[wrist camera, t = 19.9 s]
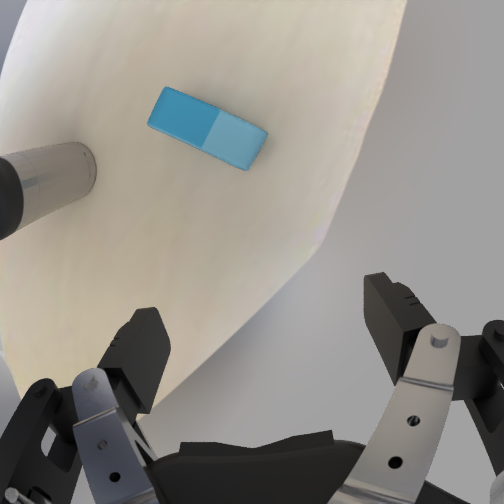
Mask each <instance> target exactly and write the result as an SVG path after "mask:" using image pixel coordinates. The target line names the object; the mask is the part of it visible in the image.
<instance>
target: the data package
mask: <svg viewBox="0 0 504 504" xmlns="http://www.w3.org/2000/svg"><path fill="white" fill-rule="evenodd" d="M147 125H148V126H149V127H151V128H153V129H155V130H157V131H160V132H162V133H164V134H167V135H169V136H171V137H173V138H175V139H178V140H180V141H182V142H184V143H186V144H189V145H191V146H193V147H195V148H197V149H199V150H201V151H204V152H206V153H208V154H210V155H212V156H214V157H216V158H218V159H220V160H222V161H224V162H226V163H228V164H230V165H232V166H234V167H237V168H239V169H242V170H245V171H247V170H249V169H250V167H251V165H252V163H253V161H254V159H255V158H256V156H257V154H258V152H259V150H260V148H261V147H262V145H263V143H264V141H265V139H266V137H267V136H268V133H267V132H266V131H264V130H262V129H260V128H258V127H256V126H254V125H252V124H250V123H248V122H246V121H244V120H242V119H240V118H238V117H236V116H234V115H232V114H230V113H227V112H225V111H223V110H221V109H219V108H217V107H214V106H212V105H210V104H208V103H205V102H203V101H201V100H199V99H196V98H194V97H192V96H189V95H187V94H184V93H182V92H179V91H177V90H175V89H172V88H169V87H164V88H163V90H162V92H161V94H160V96H159V98H158V100H157V102H156V104H155V107H154V109H153V111H152V113H151V115H150V117H149V119H148V122H147Z"/></svg>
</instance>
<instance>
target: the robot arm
mask: <svg viewBox="0 0 504 504" xmlns="http://www.w3.org/2000/svg"><path fill="white" fill-rule="evenodd" d="M95 177H96V165H95V161H94V158H93V156H92V154H91V152H90V151H89V150H88V148H87V147H85V146H84V145H82V144H80V143H75V142H72V143H65V144H58V145H52V146H46V147H41V148H35V149H30V150H25V151H20V152H16V153H12V154H8V155H3V156H0V240H2V239H4V238H6V237H8V236H9V235H11V234H13V233H14V232H16V231H18V230H19V229H21V228H23V227H25V226H26V225H28V224H30V223H32V222H34V221H35V220H37V219H39V218H41V217H43V216H45V215H47V214H49V213H51V212H53V211H55V210H57V209H59V208H61V207H63V206H65V205H67V204H69V203H71V202H73V201H75V200H77V199H80V198H82V197H83V196H85V195H86V194H87V193H88V192H89V191H90V190H91V188H92V187H93V184H94V181H95ZM364 318H365V323H366V326H367V328H368V330H369V332H370V334H371V336H372V338H373V340H374V342H375V345H376V347H377V349H378V351H379V353H380V355H381V357H382V359H383V361H384V364H385V366H386V368H387V370H388V373H389V375H390V377H391V379H392V382H393V384H394V386H396V387H395V389H394V391H393V393H392V396H391V398H390V400H389V402H388V404H387V406H386V409H385V411H384V413H383V415H382V417H381V419H380V421H379V423H378V425H377V427H376V429H375V431H374V432H373V435H372V436H371V438H370V440H369V442H368V444H367V445H363V444H360V443H356V442H352V441H345V440H334V439H333V434H332V430H328V431H323V432H317V433H311V434H304V435H298V436H292V437H289V438H286V439H284V440H280V441H277V442H274V443H271V444H268V445H264V446H261V447H257V448H247V447H240V446H234V445H228V444H223V443H217V442H181V444H180V449H179V452H177V453H173V454H169V455H167V456H164V457H161V458H159V459H158V457H157V456H156V454H155V452H154V451H153V449H152V447H151V445H150V444H149V442H148V440H147V438H146V436H145V434H144V432H143V430H142V428H141V426H140V424H139V423H138V421H137V420H136V416H137V413H140V414H149V413H150V411H151V408H152V405H153V402H154V399H155V396H156V393H157V390H158V387H159V384H160V381H161V378H162V375H163V372H164V369H165V366H166V363H167V360H168V357H169V355H170V351H171V345H170V339H169V337H168V334H167V332H166V329H165V327H164V324H163V322H162V319H161V317H160V314H159V312H158V310H157V308H155V307H150V308H141V309H137V310H136V311H135V313H134V314H133V316H132V318H131V319H130V321H129V322H127V323H126V324H125V325H123V326H122V327H121V328H120V329H119V330H118V332H117V333H116V335H115V337H114V340H112V342H111V343H110V347H108V349H107V350H106V352H105V354H104V355H103V357H102V359H101V361H100V362H99V364H98V366H97V368H91V369H88V370H85V371H83V372H82V373H80V374H79V375H78V376H77V377H76V378H75V379H74V381H73V383H72V386H68V387H64V388H59V389H58V387H57V386H56V384H55V383H54V382H53V380H51V379H49V378H44V379H41V380H38V381H37V382H35V383H34V384H32V385H31V386H30V388H29V389H28V391H27V392H26V394H25V396H24V397H23V399H22V401H21V402H20V404H19V406H18V407H17V409H16V411H15V413H14V415H13V416H12V418H11V420H10V422H9V423H8V425H7V427H6V429H5V431H4V433H3V434H2V436H1V438H0V504H70V503H71V500H72V496H73V493H74V490H75V487H76V483H77V480H78V477H79V474H80V470H81V468H82V465H83V468H84V471H85V475H86V478H87V481H88V484H89V487H90V490H91V492H92V495H93V498H94V501H95V503H96V504H470V503H468V502H466V501H464V500H461V499H460V498H458V497H456V496H454V495H452V494H450V493H448V492H446V491H444V490H443V489H441V488H439V487H437V486H435V485H433V484H431V483H430V482H428V481H426V480H425V478H426V476H427V474H428V471H429V469H430V466H431V463H432V461H433V458H434V455H435V453H436V450H437V447H438V443H439V441H440V438H441V435H442V431H443V428H444V425H445V422H446V418H447V414H448V411H449V407H450V403H451V401H455V400H464V402H465V404H466V406H467V408H468V410H469V412H470V414H471V416H472V419H473V421H474V423H475V425H476V427H477V429H478V432H479V434H480V436H481V439H482V441H483V444H484V446H485V448H486V451H487V453H488V456H489V458H490V461H491V463H492V466H493V469H494V472H495V474H496V479H495V480H494V481H493V483H492V486H491V489H490V504H504V389H503V388H502V386H501V383H502V385H503V387H504V321H503V320H493V321H490V322H488V323H487V324H486V325H485V326H484V328H483V331H482V335H475V336H460V334H459V333H458V331H457V330H456V329H454V328H453V327H451V326H449V325H446V324H440V323H439V324H438V323H437V322H436V321H435V320H434V319H433V317H432V316H431V315H430V313H429V312H428V311H427V310H426V308H425V307H424V306H423V305H422V304H421V303H420V301H419V300H418V298H417V297H415V295H414V293H413V292H412V291H411V290H410V289H409V288H408V287H407V286H405V285H403V284H401V283H399V282H397V283H392V282H391V280H390V279H389V277H388V276H387V275H386V274H385V273H384V272H381V273H376V274H370V275H365V277H364ZM48 426H49V427H50V428H51V429H52V430H53V431H54V433H55V434H56V437H55V439H54V442H53V444H52V446H51V449H50V451H49V453H48V456H47V457H46V456H45V455H44V454H43V452H42V449H41V441H42V439H43V437H44V435H45V433H46V430H47V428H48Z"/></svg>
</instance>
